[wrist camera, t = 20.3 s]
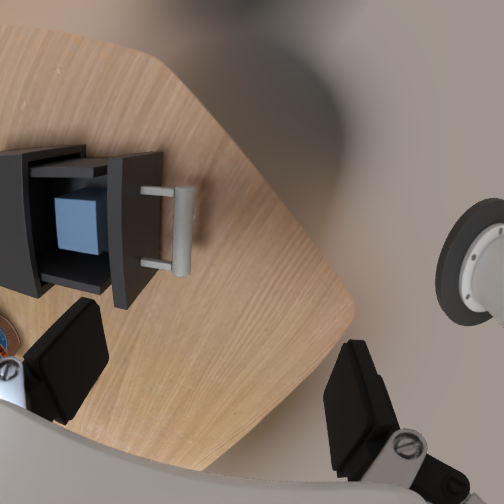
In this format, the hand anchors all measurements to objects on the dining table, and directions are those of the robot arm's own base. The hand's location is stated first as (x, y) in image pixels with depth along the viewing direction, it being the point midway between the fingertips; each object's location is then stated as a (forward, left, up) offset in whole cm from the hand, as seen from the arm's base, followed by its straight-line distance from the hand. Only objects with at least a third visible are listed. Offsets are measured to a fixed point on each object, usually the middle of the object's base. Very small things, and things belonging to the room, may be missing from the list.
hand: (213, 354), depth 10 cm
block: (+9, -10, -16) cm, 21 cm away
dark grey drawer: (+9, -9, -17) cm, 21 cm away
